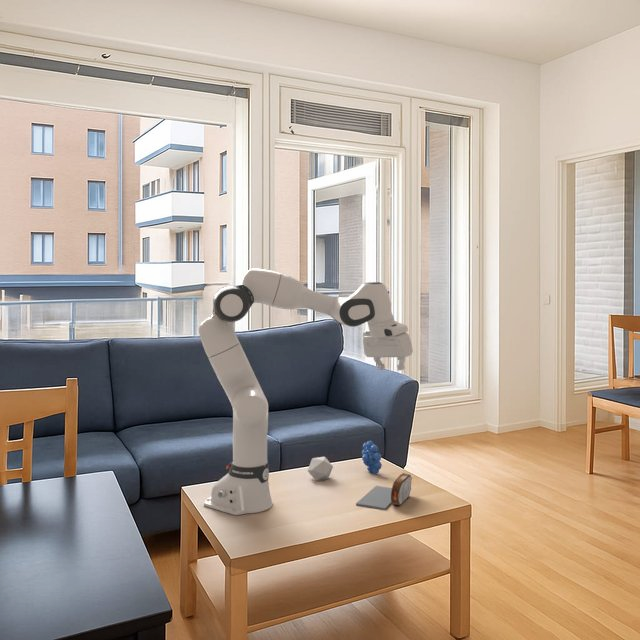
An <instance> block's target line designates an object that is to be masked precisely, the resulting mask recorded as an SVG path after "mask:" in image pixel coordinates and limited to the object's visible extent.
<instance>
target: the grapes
mask: <svg viewBox="0 0 640 640" xmlns="http://www.w3.org/2000/svg"><path fill="white" fill-rule="evenodd" d="M378 451H379V447H378V445H376V444H374V442H373V441H372V440H367V442H363V445H362V450H361V456H362V461H363V464H364V466H366V467H367V471H368V472H369V473H371V474H372V473H373V474H375V475H377V474H379V471H380V470H381V469H382V466H383V464H382V463H381V460H382V455H381V453H380V452H378Z"/></svg>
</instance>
